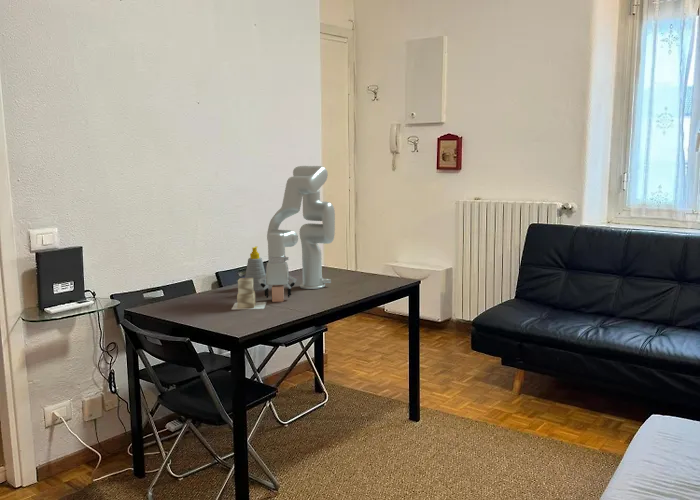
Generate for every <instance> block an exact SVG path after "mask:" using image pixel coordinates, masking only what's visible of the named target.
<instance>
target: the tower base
mask: <svg viewBox="0 0 700 500" xmlns="http://www.w3.org/2000/svg"><path fill="white" fill-rule="evenodd" d="M236 301H237V302H236V303H237V306H238V308H254V307H255V304H256V302H257V301H256V291H254V292H253V294H241V295H238V293H237V294H236Z"/></svg>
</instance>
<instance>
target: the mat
mask: <svg viewBox="0 0 700 500" xmlns="http://www.w3.org/2000/svg"><path fill="white" fill-rule="evenodd" d="M266 305H267V301H259V302H257V301H256V304H255V307H254V308H238V306H237V302H234V304H233V306H232V307H231V310H232V311H233V310H264V309H265V307H266Z"/></svg>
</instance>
